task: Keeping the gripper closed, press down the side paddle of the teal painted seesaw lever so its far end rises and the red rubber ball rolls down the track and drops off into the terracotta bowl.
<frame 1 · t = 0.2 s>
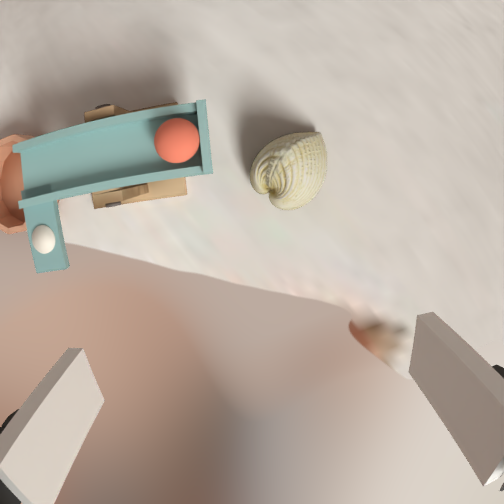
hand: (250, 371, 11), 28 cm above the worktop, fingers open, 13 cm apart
lever: (105, 193, 27), point 9 cm above the worktop, hinge at -7.1°, touching ball
bowl: (28, 181, 35), on the worktop
ball: (174, 143, 28), point 8 cm above the worktop, tilted 19°, touching lever
stand: (134, 156, 35), on the worktop
seashell: (289, 170, 37), on the worktop
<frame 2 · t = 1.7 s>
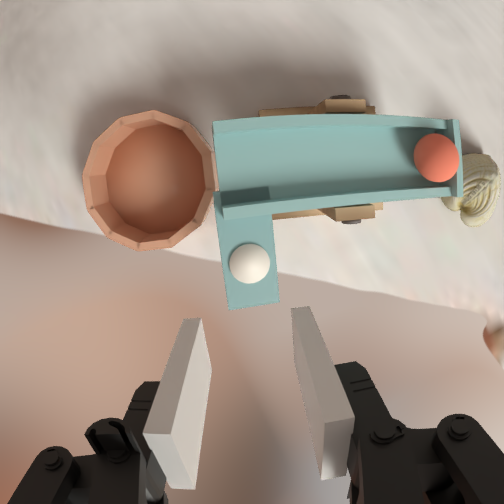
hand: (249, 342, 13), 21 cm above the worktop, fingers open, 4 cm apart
lever: (354, 206, 23), point 9 cm above the worktop, hinge at -7.1°, touching ball
bowl: (157, 178, 31), on the worktop
ball: (418, 157, 24), point 8 cm above the worktop, tilted 19°, touching lever
stand: (323, 160, 31), on the worktop
seashell: (463, 187, 32), on the worktop
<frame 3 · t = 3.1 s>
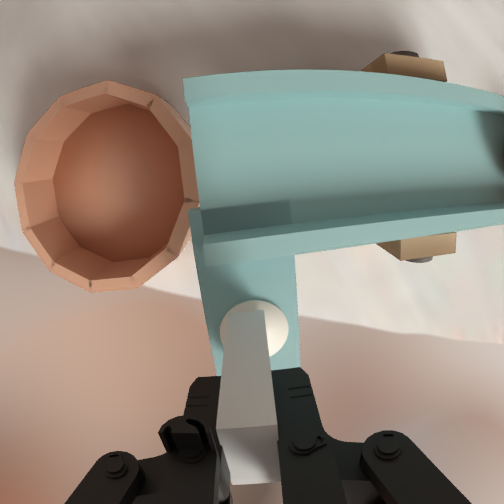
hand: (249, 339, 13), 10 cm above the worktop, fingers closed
lever: (428, 236, 13), point 9 cm above the worktop, hinge at -5.5°, touching ball, gripper
bowl: (120, 183, 21), on the worktop
stand: (360, 156, 21), on the worktop
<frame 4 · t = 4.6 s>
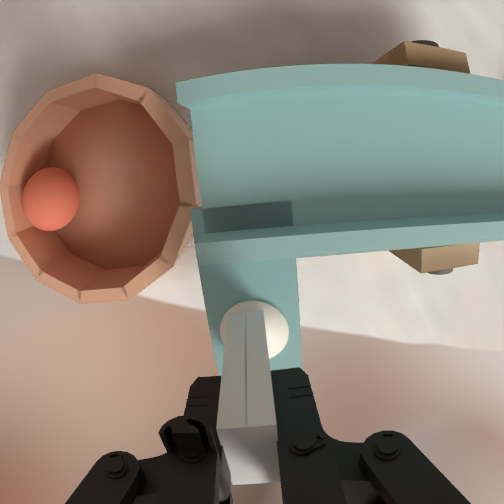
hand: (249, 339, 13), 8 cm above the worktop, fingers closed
lever: (445, 245, 11), point 9 cm above the worktop, hinge at 6.1°, touching gripper
bowl: (112, 185, 19), on the worktop
ball: (77, 192, 17), point 2 cm above the worktop, tilted 79°, touching bowl
stand: (371, 155, 19), on the worktop
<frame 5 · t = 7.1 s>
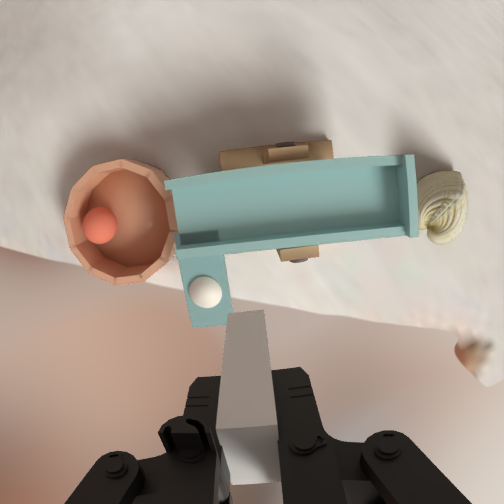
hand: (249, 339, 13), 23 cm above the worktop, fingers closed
lever: (294, 247, 26), point 9 cm above the worktop, hinge at 6.1°
bowl: (130, 217, 34), on the worktop
ball: (116, 221, 33), point 2 cm above the worktop, tilted 63°, touching bowl
stand: (281, 195, 34), on the worktop
seashell: (433, 205, 35), on the worktop
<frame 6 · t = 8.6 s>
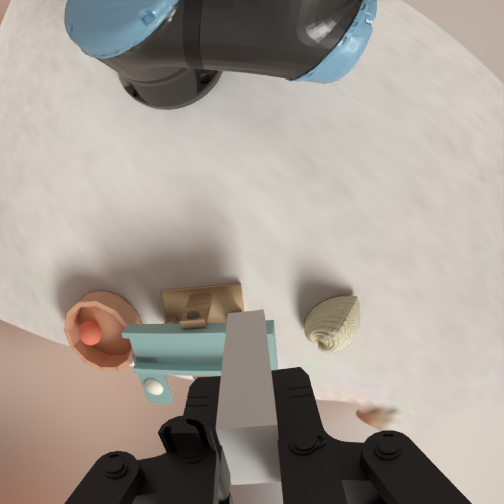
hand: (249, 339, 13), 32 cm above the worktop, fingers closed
lever: (201, 373, 41), point 9 cm above the worktop, hinge at 6.1°
bowl: (108, 325, 49), on the worktop
ball: (100, 329, 48), point 1 cm above the worktop, tilted 53°, touching bowl
stand: (206, 319, 49), on the worktop
seashell: (331, 319, 50), on the worktop
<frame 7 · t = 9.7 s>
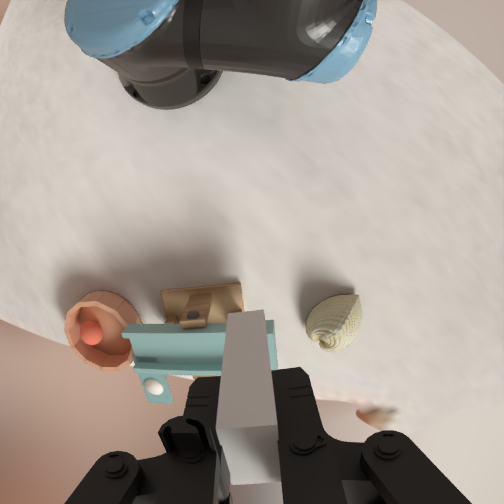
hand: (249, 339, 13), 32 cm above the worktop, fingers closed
lever: (201, 373, 41), point 9 cm above the worktop, hinge at 6.1°
bowl: (108, 325, 49), on the worktop
ball: (101, 328, 48), point 1 cm above the worktop, tilted 46°, touching bowl
stand: (206, 319, 49), on the worktop
seashell: (332, 318, 49), on the worktop
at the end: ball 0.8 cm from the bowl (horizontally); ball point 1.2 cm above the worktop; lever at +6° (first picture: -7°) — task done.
